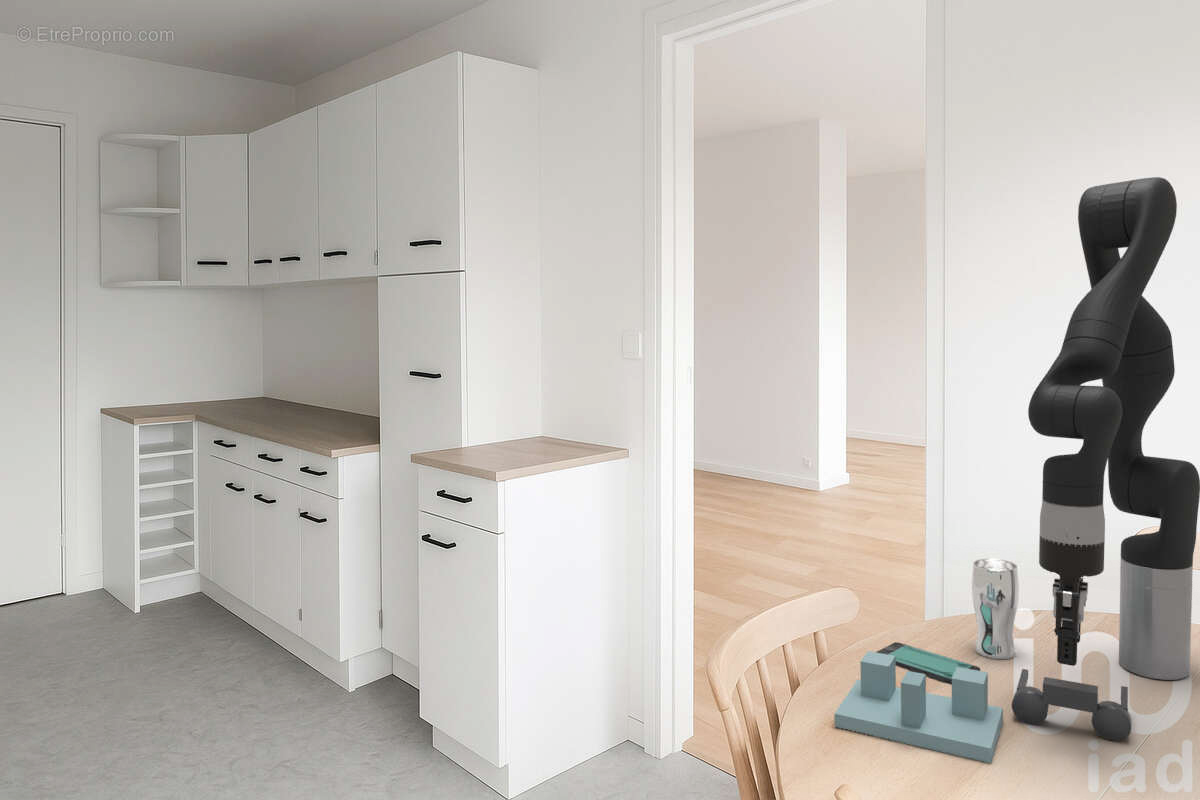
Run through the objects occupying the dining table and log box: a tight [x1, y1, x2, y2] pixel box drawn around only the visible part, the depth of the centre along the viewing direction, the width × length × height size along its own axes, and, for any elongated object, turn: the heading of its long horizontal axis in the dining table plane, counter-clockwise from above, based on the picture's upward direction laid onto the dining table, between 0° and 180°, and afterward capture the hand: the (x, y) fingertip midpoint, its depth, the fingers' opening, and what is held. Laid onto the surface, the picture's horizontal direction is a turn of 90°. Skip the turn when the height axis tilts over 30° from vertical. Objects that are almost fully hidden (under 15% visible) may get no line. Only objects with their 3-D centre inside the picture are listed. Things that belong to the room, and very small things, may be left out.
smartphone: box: [875, 641, 981, 686], centre depth 134 cm, size 7×1×15 cm
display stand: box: [833, 650, 1004, 764], centre depth 115 cm, size 12×20×8 cm, turn 57°
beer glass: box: [971, 558, 1020, 660], centre depth 136 cm, size 7×7×15 cm
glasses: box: [1011, 668, 1132, 742], centre depth 115 cm, size 9×14×6 cm
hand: (1068, 652), depth 111 cm, fingers open, 8 cm apart
